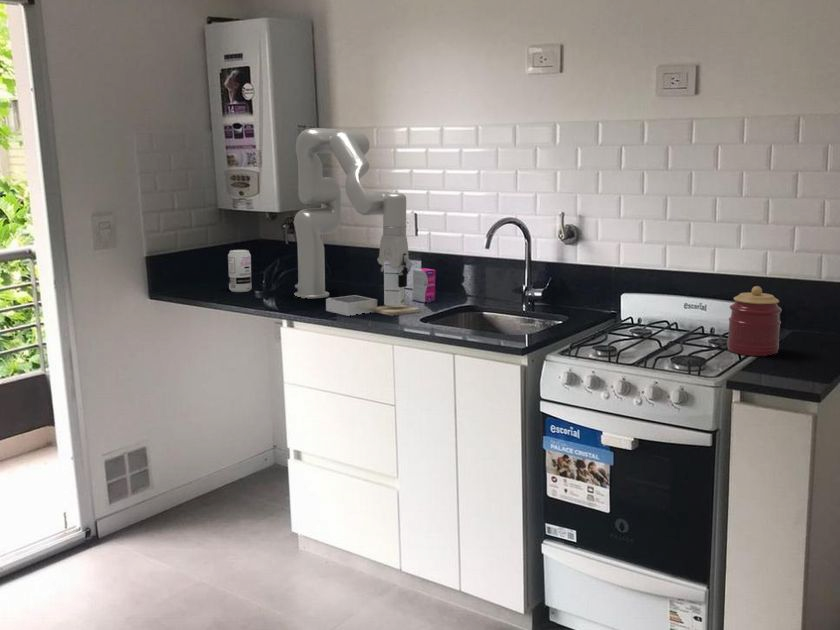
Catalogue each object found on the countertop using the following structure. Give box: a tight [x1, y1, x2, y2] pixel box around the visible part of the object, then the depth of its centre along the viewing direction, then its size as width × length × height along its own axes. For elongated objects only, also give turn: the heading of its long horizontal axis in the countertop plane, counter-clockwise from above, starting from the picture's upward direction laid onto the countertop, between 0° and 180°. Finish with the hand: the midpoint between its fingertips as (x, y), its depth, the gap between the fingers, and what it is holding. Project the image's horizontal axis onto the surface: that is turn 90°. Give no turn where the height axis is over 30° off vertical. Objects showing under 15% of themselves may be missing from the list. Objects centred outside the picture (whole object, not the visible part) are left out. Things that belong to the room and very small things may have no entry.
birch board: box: [374, 304, 421, 317], centre depth 293 cm, size 12×12×1 cm
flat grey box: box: [325, 294, 378, 317], centre depth 295 cm, size 19×12×4 cm, turn 41°
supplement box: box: [412, 267, 437, 304], centre depth 311 cm, size 6×6×12 cm
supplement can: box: [227, 249, 253, 293], centre depth 332 cm, size 8×8×15 cm
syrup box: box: [383, 262, 406, 306], centre depth 291 cm, size 6×6×14 cm
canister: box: [726, 285, 783, 357], centre depth 235 cm, size 13×13×18 cm
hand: (394, 284), depth 291 cm, fingers closed on syrup box, 7 cm apart
